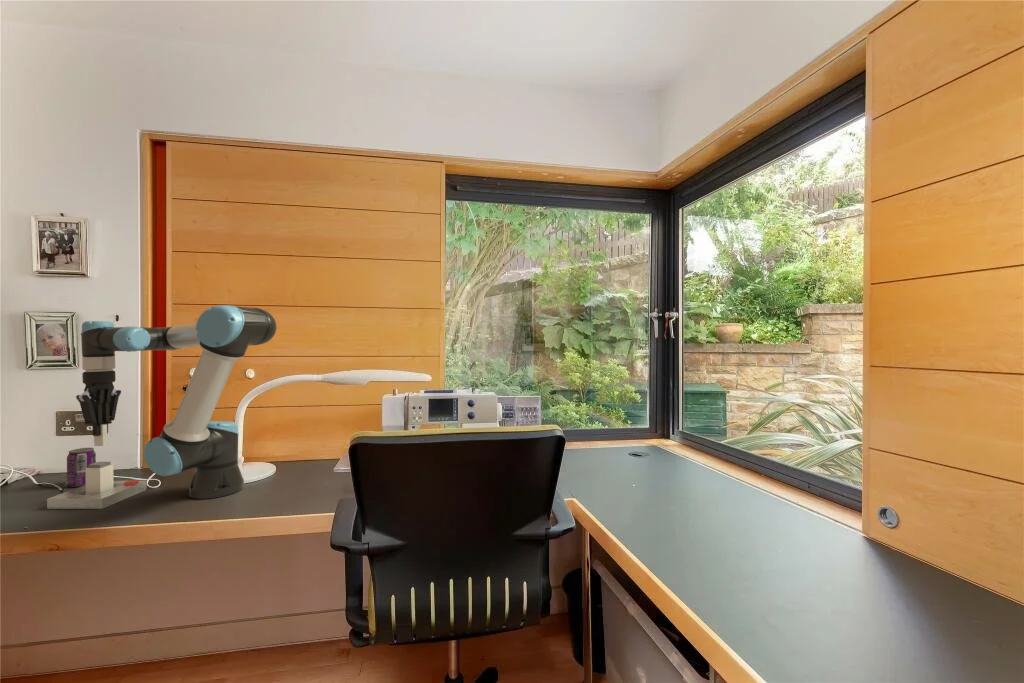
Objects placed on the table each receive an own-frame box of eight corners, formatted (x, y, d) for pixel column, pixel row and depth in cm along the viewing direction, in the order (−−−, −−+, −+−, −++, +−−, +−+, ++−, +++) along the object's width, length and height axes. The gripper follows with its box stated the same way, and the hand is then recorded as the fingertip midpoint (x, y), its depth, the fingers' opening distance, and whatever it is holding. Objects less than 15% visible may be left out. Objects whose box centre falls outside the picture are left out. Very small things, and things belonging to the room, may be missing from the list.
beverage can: (101, 481, 153) (101, 447, 153) (82, 488, 146) (82, 452, 146) (80, 481, 153) (80, 447, 153) (60, 488, 146) (60, 452, 146)
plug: (113, 495, 139) (113, 461, 139) (100, 500, 135) (100, 465, 135) (99, 495, 139) (99, 461, 139) (85, 500, 135) (85, 465, 135)
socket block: (146, 489, 145) (146, 478, 145) (102, 508, 129) (102, 496, 129) (97, 489, 145) (97, 478, 145) (47, 508, 129) (47, 496, 129)
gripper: (106, 369, 143) (107, 440, 143) (66, 372, 130) (67, 451, 130) (129, 368, 143) (130, 440, 143) (91, 371, 130) (93, 450, 130)
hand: (100, 445), depth 137 cm, fingers closed
